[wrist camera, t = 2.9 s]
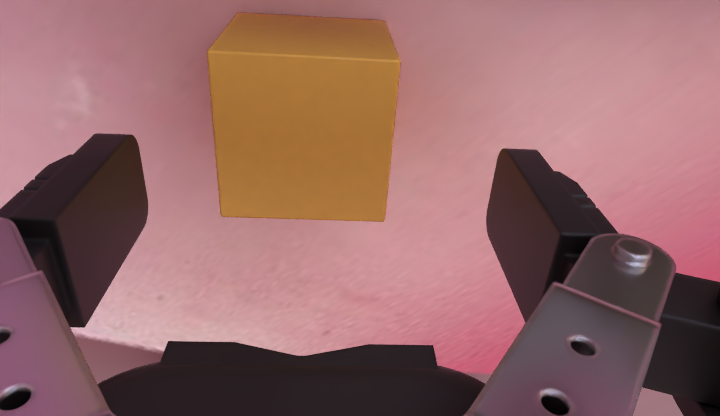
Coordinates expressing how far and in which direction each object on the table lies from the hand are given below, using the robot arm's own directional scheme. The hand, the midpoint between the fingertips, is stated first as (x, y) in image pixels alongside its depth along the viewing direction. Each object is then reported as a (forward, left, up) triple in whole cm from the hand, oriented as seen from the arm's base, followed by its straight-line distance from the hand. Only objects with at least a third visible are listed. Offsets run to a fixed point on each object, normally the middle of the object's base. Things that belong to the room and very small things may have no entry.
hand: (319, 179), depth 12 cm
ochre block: (0, 0, -7) cm, 7 cm away
